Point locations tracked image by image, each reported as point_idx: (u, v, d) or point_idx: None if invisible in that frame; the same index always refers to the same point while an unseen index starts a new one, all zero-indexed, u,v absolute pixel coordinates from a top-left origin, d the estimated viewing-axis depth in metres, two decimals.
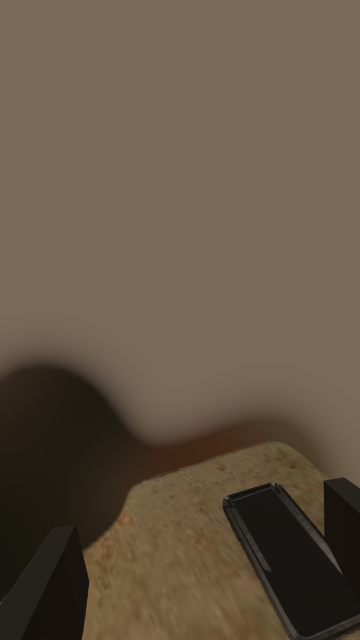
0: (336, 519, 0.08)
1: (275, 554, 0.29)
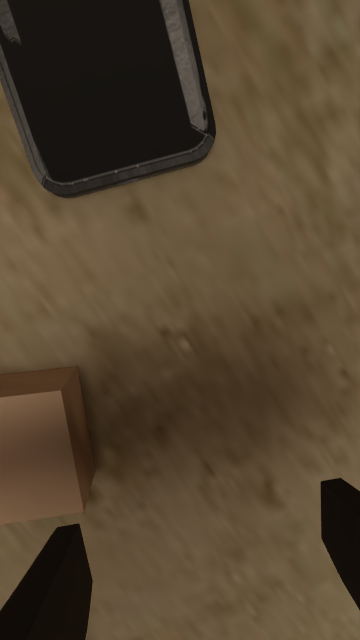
0: (333, 520, 0.08)
1: None
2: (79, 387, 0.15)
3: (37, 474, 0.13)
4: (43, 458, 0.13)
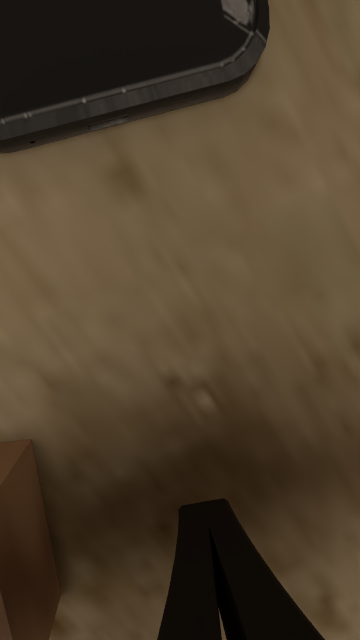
0: None
1: None
2: (34, 473, 0.09)
3: None
4: None
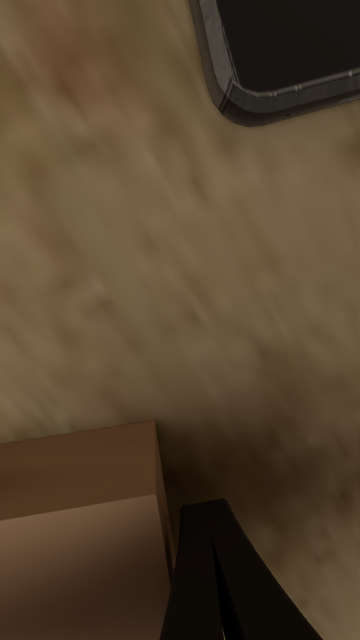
0: None
1: None
2: (159, 459, 0.09)
3: (109, 636, 0.07)
4: (119, 611, 0.07)
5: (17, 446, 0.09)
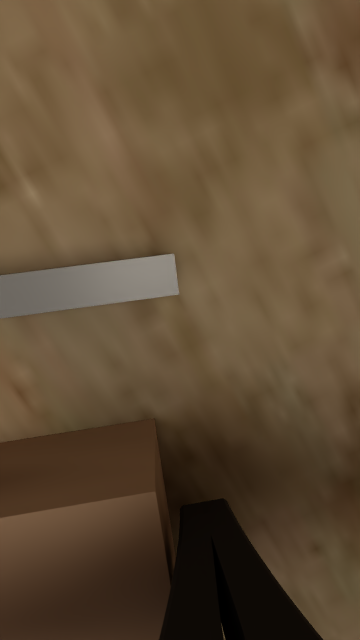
0: None
1: None
2: (159, 457, 0.09)
3: (109, 633, 0.07)
4: (119, 608, 0.07)
5: (18, 444, 0.09)
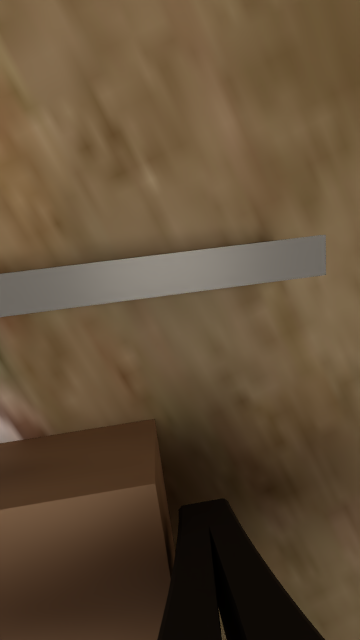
0: None
1: None
2: (159, 452, 0.09)
3: (111, 623, 0.07)
4: (120, 598, 0.07)
5: (22, 440, 0.09)
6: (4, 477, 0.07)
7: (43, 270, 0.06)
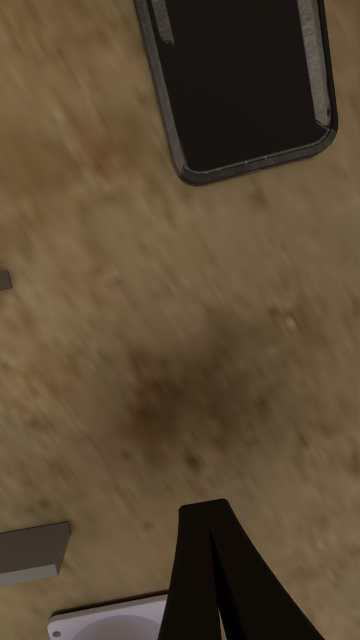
0: None
1: (194, 3, 0.12)
2: None
3: None
4: None
5: None
6: None
7: None
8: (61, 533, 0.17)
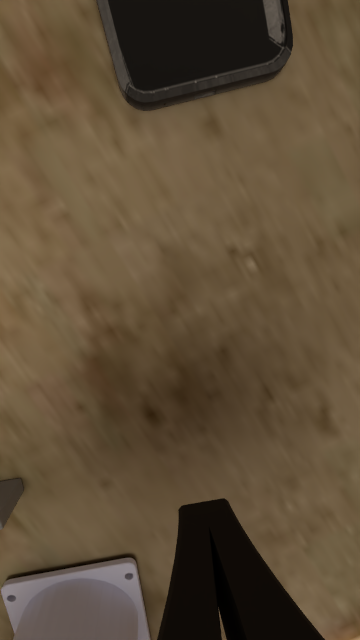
0: None
1: None
2: None
3: None
4: None
5: None
6: None
7: None
8: (11, 488, 0.16)
